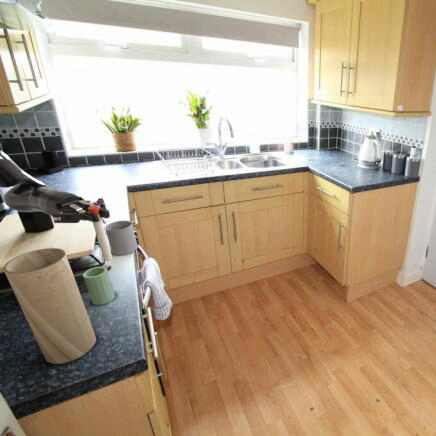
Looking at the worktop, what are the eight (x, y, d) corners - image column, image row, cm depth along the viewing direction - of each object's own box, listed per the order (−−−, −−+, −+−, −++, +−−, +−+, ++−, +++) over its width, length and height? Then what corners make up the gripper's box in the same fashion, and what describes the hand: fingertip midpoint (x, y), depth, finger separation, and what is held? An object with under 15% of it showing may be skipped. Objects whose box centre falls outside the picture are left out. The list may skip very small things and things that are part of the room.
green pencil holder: (97, 307, 90) (88, 280, 86) (88, 300, 93) (79, 273, 89) (118, 297, 95) (110, 270, 91) (109, 290, 98) (101, 264, 94)
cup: (138, 251, 118) (132, 227, 114) (112, 257, 114) (105, 232, 110) (136, 241, 125) (131, 218, 121) (112, 246, 121) (105, 223, 117)
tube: (72, 329, 83) (38, 245, 72) (105, 335, 81) (77, 251, 71) (33, 359, 74) (-11, 270, 63) (70, 367, 73) (31, 276, 62)
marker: (106, 262, 89) (90, 209, 82) (102, 259, 90) (86, 207, 83) (114, 258, 90) (99, 207, 84) (110, 256, 91) (95, 205, 85)
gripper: (27, 200, 82) (69, 212, 76) (83, 184, 93) (124, 194, 87) (37, 226, 85) (79, 240, 79) (90, 208, 96) (130, 219, 90)
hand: (102, 216), depth 83 cm, fingers closed on marker, 2 cm apart
